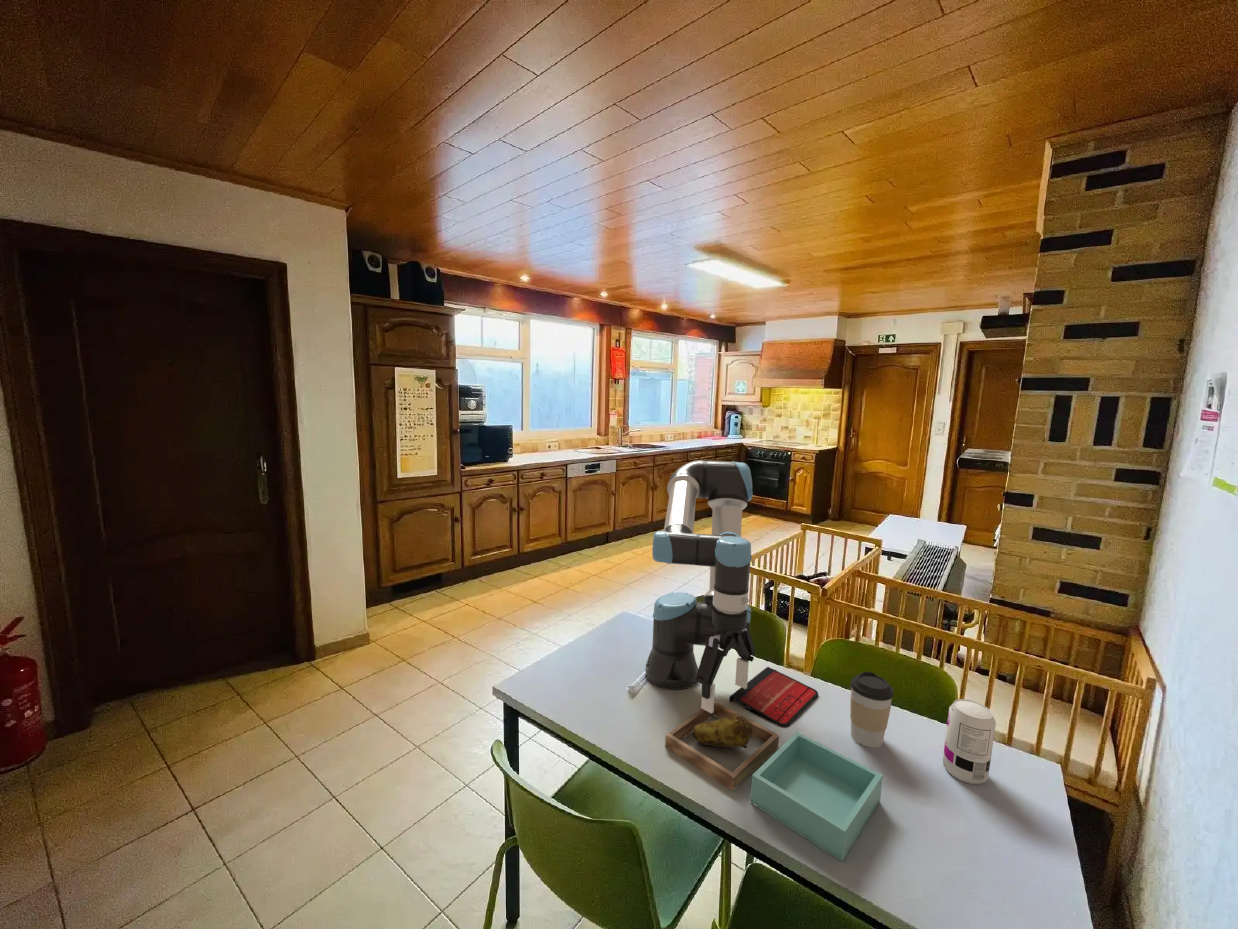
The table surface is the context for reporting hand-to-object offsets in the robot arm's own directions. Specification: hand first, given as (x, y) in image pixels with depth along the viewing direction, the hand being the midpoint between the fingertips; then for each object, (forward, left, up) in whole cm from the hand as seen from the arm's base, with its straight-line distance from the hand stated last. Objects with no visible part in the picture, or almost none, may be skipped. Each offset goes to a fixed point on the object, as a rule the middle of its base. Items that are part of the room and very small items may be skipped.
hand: (724, 697), depth 115 cm
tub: (+22, 0, -12) cm, 25 cm away
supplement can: (+41, +32, -13) cm, 54 cm away
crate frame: (0, 0, -12) cm, 12 cm away
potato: (0, 0, -13) cm, 13 cm away
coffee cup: (+22, +28, -13) cm, 38 cm away
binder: (-1, +27, -13) cm, 30 cm away
